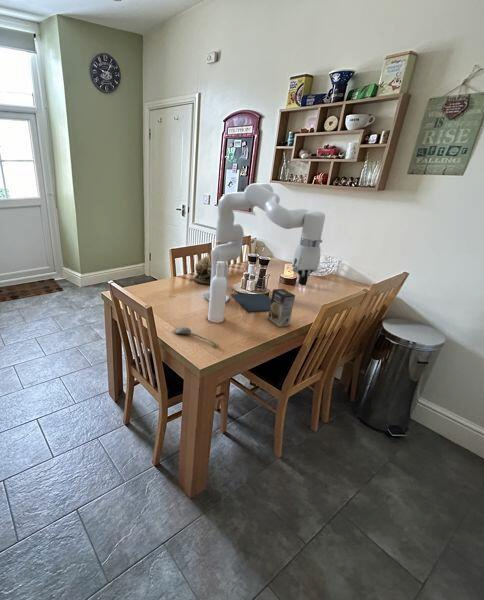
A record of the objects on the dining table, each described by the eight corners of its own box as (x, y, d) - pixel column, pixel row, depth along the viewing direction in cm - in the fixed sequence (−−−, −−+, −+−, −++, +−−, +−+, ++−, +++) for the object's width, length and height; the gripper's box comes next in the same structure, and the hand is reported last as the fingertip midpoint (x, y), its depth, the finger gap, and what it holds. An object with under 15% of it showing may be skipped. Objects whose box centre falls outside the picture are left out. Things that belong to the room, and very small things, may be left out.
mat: (248, 312, 173) (248, 311, 173) (231, 295, 194) (231, 294, 194) (283, 309, 176) (283, 308, 176) (262, 293, 198) (262, 292, 198)
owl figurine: (221, 283, 213) (224, 257, 206) (210, 287, 206) (212, 261, 199) (200, 276, 225) (202, 252, 218) (189, 279, 218) (190, 255, 211)
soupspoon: (180, 329, 156) (172, 334, 152) (180, 323, 155) (171, 328, 150) (220, 343, 143) (212, 350, 138) (220, 337, 141) (212, 343, 137)
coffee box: (267, 318, 166) (272, 289, 160) (278, 317, 168) (283, 288, 161) (278, 327, 158) (284, 296, 152) (289, 325, 160) (295, 294, 153)
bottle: (205, 317, 167) (209, 260, 155) (218, 314, 170) (223, 258, 158) (212, 323, 160) (217, 265, 148) (226, 321, 163) (232, 263, 151)
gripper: (320, 240, 140) (312, 280, 147) (288, 241, 137) (281, 282, 144) (332, 244, 133) (322, 286, 140) (298, 245, 130) (291, 288, 137)
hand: (302, 284), depth 142 cm, fingers closed
